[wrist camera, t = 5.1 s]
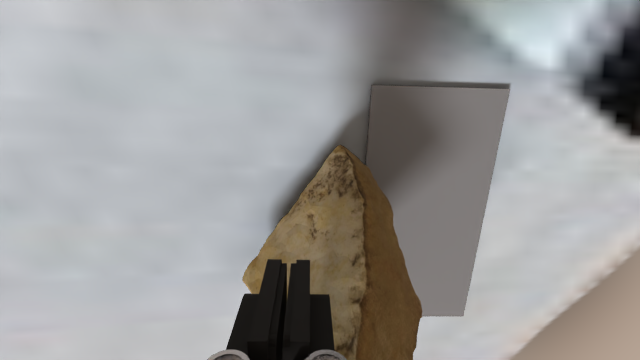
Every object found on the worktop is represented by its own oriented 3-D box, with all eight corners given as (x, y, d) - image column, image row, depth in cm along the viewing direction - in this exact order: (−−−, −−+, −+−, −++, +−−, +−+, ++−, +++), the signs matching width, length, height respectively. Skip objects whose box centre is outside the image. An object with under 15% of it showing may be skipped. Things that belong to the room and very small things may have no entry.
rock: (374, 101, 13) (194, 274, 10) (514, 236, 13) (380, 460, 10) (320, 170, 23) (222, 268, 20) (398, 247, 23) (312, 358, 20)
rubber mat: (506, 89, 17) (509, 89, 17) (461, 313, 22) (463, 316, 22) (371, 85, 17) (372, 84, 17) (354, 313, 22) (355, 316, 22)
